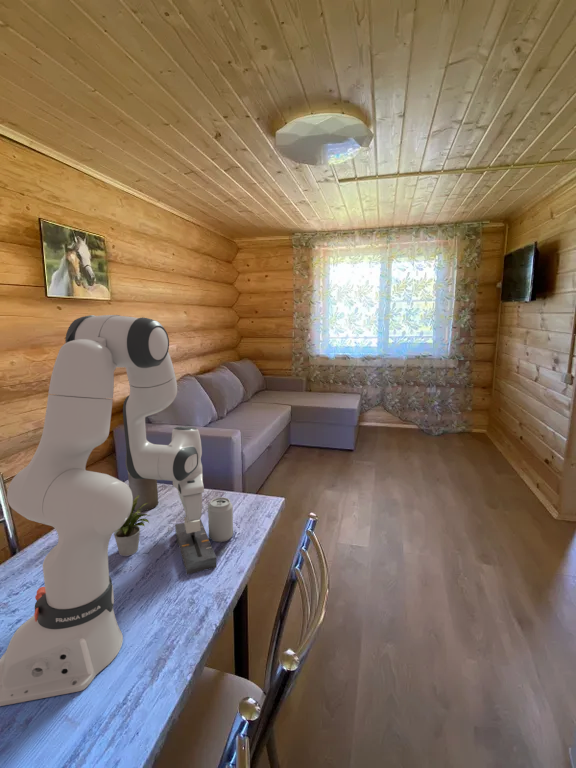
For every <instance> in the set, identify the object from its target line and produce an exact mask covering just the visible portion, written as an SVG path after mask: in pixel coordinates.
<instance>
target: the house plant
mask: <svg viewBox="0 0 576 768" xmlns="http://www.w3.org/2000/svg"><path fill="white" fill-rule="evenodd" d="M138 497H139V495H138V496H137V497H136V498H135V499H134V501H133V505H132V510H131V513H130V515H129V517H128V519H127V520H126V522H125V523H124V524H123V525H122V527H121V528H119V529H118V530H117V531H116V532H114V533H113V536H114V540H115V543H116V546H117V550H118V553H119V555H120V556H122V557H128V556H132V555H134V554H136V553H137V552H138V550H139V542H140V533H141V527H146V526H145V523H146V522H147V523H148V524H150V521H149V520H148V519H147V518H142V517H143V516H144V517H145V516H148V517H149V516H151V515H149V514H148V513H143V511H142V510H141V511H139V510H140V509H141V508H142V507H143V506H144V505H146V504H147V503H145V504H143V505H142V506H141V507H140V508H139V509H138V510H137V511H135V510H134V509H135V506H136V504H137V499H138ZM134 511H135V512H134Z"/></svg>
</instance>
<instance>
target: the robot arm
mask: <svg viewBox="0 0 576 768" xmlns="http://www.w3.org/2000/svg"><path fill="white" fill-rule="evenodd" d="M65 334H66V335H65V341H64V342H65V343H64V344H63V345H62V346H61V347H60V349H59V350H58V354H57V356H56V358H55V361H54V365H53V369H52V372H51V376H50V382H49V387H48V394H47V395H48V396H47V400H46V401H47V402H46V409H45V416H44V422H43V423H44V424H43V428H42V429H43V430H42V433H41V437H40V441H39V444H38V446H37V447H36V450H35V453H34V454H33V456H32V458H31V460H30V462H29V463H28V464H27V465H26V466H25V467H24V468H22V469H21V470H20V471H19V472H17V473H16V475H15V476H13V478H12V479H11V481H10V483H9V485H8V488H7V491H6V498H7V503H8V505H9V507H10V508H11V509H12V510H13V511H15V512H16V513H17V514H19V515H20V516H22V517H23V518H25V519H27V520H29V521H32V522H36V523H39V524H43V525H46V526H51V527H53V528H54V529H55V531H56V532H57V536H58V537H57V538H58V539H57V540H58V541H57V544H56V545H55V546H54V547H52V548H51V550H50V551H49V552H48V553H47V554H46V556H45V558H44V559H43V562H42V572H43V581H44V586H41V587H39V588H38V589H37V590H36V595H35V598H34V599H35V600H36V601H35V603H34V613H33V615H32V616H31V617H30V618H29V619H27V620H26V621H25V622H24V623H22V624H21V625H20V626H19V627H18V628H17V629H16V631H15V632H14V633H13V635H12V637H11V639H10V641H9V643H8V646H7V647H6V651H5V652H4V653H3V655H2V656H1V657H0V707H3V706H8V705H13V704H18V703H19V704H21V703H25V702H29V701H35V700H39V699H44V698H52V697H55V696H60V695H61V696H62V695H66V694H72V693H76V692H81V691H83V690H85V689H86V688H88V686H89V685H90V684H91V683H92V681H94V678H95V677H96V676H97V675H98V674H99V673H100V672H101V671H102V670H104V669H105V668H106V667H107V666H108V665H109V664H111V663H112V661H113V660H115V658H116V656H117V655H118V654H119V652H120V650H121V649H122V645H123V641H124V640H123V639H124V636H123V632H122V631H121V629H120V627H119V623H118V622H117V617H116V615H115V611H114V603H115V596H114V593H115V592H114V585H113V580H112V578H111V576H110V574H109V573H110V571H109V552H108V551H109V544H110V540H111V538H112V535H114V532H116V531H117V530H118V529H119V528H121V527H122V525H123V524H124V523H125V522H126V520H127V519H128V517H129V515H130V513H131V510H132V505H133V496H132V492H131V489H130V487H129V484H127V483H125V482H124V481H122V480H120V479H118V478H117V477H115V476H112V475H109V473H108V474H107V473H103V472H102V473H101V472H97V471H92V470H86V467H87V462H88V461H89V460H88V459H89V457H90V455H91V453H92V451H93V450H94V449H95V448H97V447H99V446H101V445H102V444H104V443H105V441H107V439H108V437H109V436H110V435H109V434H110V428H111V419H112V409H113V399H114V388H115V374H114V373H115V370H116V369H117V368H125V372H126V375H127V376H126V377H127V381H128V384H129V395H127V396H126V398H125V399H124V401H123V406H122V416H123V417H122V418H123V419H122V420H123V427H124V429H123V430H124V439H125V441H124V442H125V448H126V450H125V460H124V461H125V469H126V471H127V474H128V473H129V474H130V475H131V476H132V477H133V478H134V479H156V480H157V481H171V482H172V486H173V488H176V490H177V492H178V493H177V494H178V497H179V499H180V502H181V505H182V507H183V510H184V514H185V517H187V519H188V521H195V520H199V519H201V518H202V510H203V508H202V507H203V493H204V492H205V486H204V480H203V479H204V478H203V477H204V475H203V464H202V460H201V459H202V455H203V448H202V440H201V435H200V430H199V429H198V428H196V427H193V426H177V427H174V428H172V431H171V441H170V442H169V444H155V443H152V442H150V441H149V440H148V439H147V430H146V429H147V427H146V418H147V417H149V416H151V415H155V414H157V413H159V412H162V411H164V410H166V409H167V408H168V407H169V406H170V405H171V404H172V403H173V402H174V401H175V399H176V397H177V394H178V382H177V377H176V373H175V368H174V364H173V361H172V356H171V354H170V353H169V349H170V339H169V335H168V332H167V330H166V329H165V327H164V326H163V325H162V323H160V322H159V321H157V320H155V319H153V318H152V319H151V318H149V317H132V316H128V315H127V316H125V315H120V314H104V315H103V314H102V315H85V316H81V317H78V318H76V319H74V320H73V321H72V322H71V323H70V325H69V327H68V329H67V331H66V333H65Z"/></svg>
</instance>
